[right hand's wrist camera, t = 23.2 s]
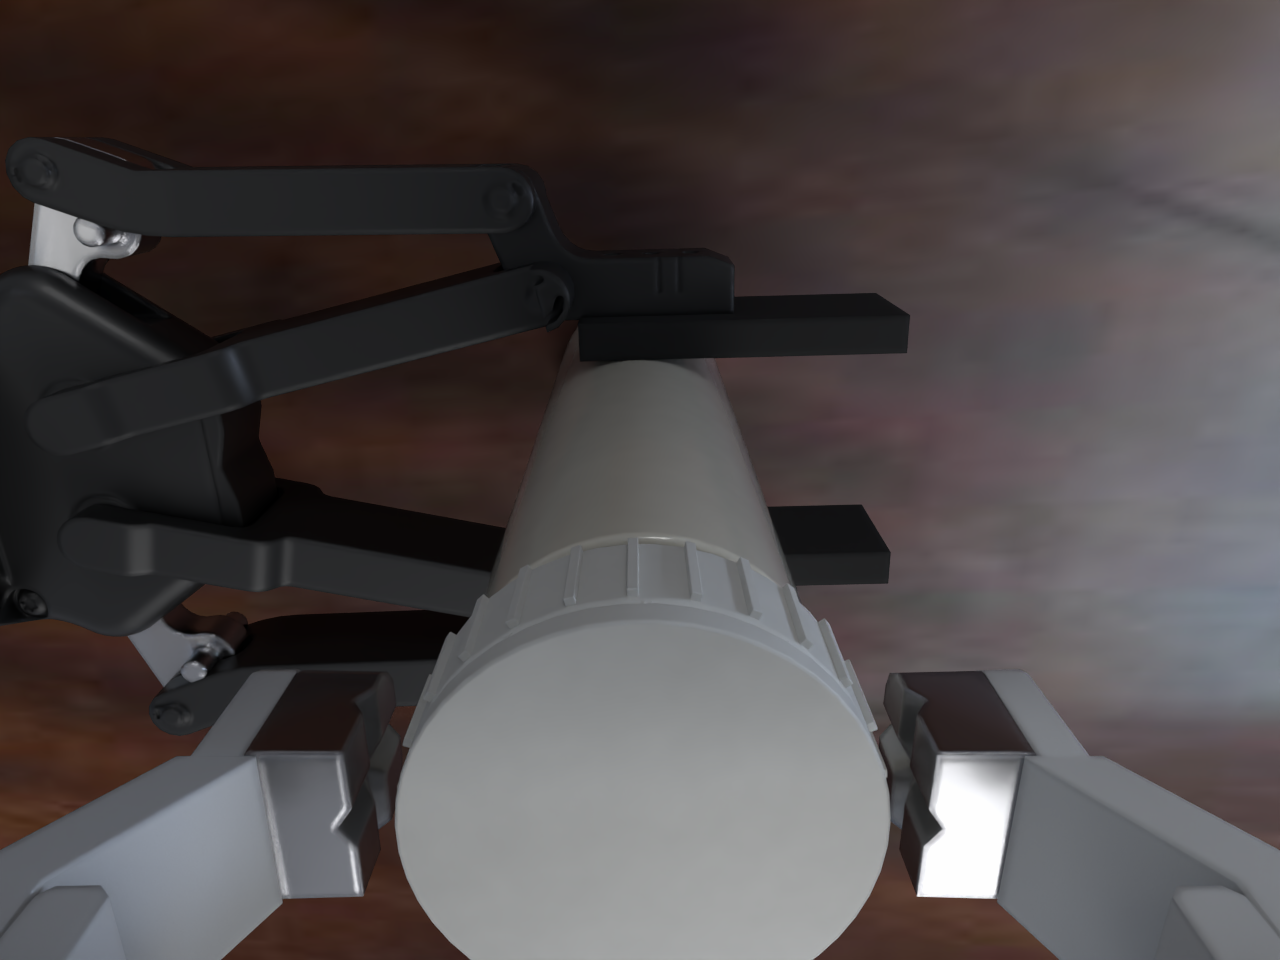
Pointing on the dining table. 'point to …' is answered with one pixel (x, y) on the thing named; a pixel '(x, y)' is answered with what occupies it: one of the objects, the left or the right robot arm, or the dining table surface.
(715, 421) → the jar
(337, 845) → the right robot arm
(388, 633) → the left robot arm
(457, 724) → the lid
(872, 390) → the dining table surface
